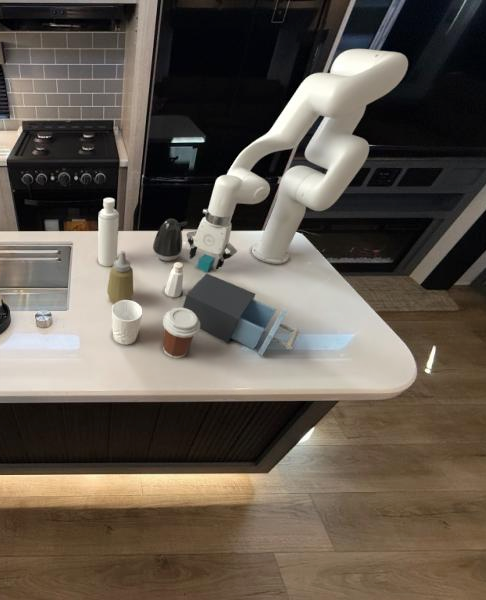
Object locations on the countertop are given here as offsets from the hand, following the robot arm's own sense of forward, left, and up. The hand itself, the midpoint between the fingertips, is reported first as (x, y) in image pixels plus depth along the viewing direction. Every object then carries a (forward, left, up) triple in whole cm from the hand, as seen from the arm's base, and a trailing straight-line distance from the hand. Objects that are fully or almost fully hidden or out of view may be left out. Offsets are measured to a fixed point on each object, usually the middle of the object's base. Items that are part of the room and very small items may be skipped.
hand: (204, 262), depth 110 cm
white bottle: (+19, -29, -3) cm, 34 cm away
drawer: (+22, +25, -2) cm, 33 cm away
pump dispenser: (+3, -14, -3) cm, 14 cm away
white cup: (+44, -3, -3) cm, 44 cm away
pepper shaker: (+19, -2, -3) cm, 19 cm away
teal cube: (0, 0, -2) cm, 2 cm away
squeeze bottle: (+33, -13, -3) cm, 35 cm away
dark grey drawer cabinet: (+22, +13, -2) cm, 25 cm away
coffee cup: (+39, +10, -3) cm, 40 cm away
